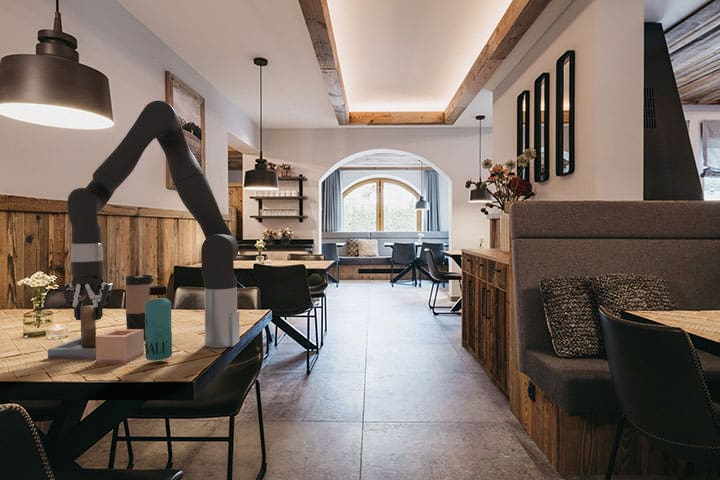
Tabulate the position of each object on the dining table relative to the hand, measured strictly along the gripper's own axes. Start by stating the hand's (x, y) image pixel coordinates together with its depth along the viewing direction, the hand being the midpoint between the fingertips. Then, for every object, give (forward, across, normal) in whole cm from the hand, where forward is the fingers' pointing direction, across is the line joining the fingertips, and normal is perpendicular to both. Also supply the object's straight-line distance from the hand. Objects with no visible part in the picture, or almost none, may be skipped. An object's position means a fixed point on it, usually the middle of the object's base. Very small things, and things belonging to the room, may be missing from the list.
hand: (88, 319), depth 113 cm
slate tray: (+9, 0, 0) cm, 9 cm away
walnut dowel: (+8, 0, 0) cm, 8 cm away
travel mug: (+10, -6, -15) cm, 19 cm away
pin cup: (+9, -13, +6) cm, 17 cm away
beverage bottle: (+10, -25, +9) cm, 28 cm away
